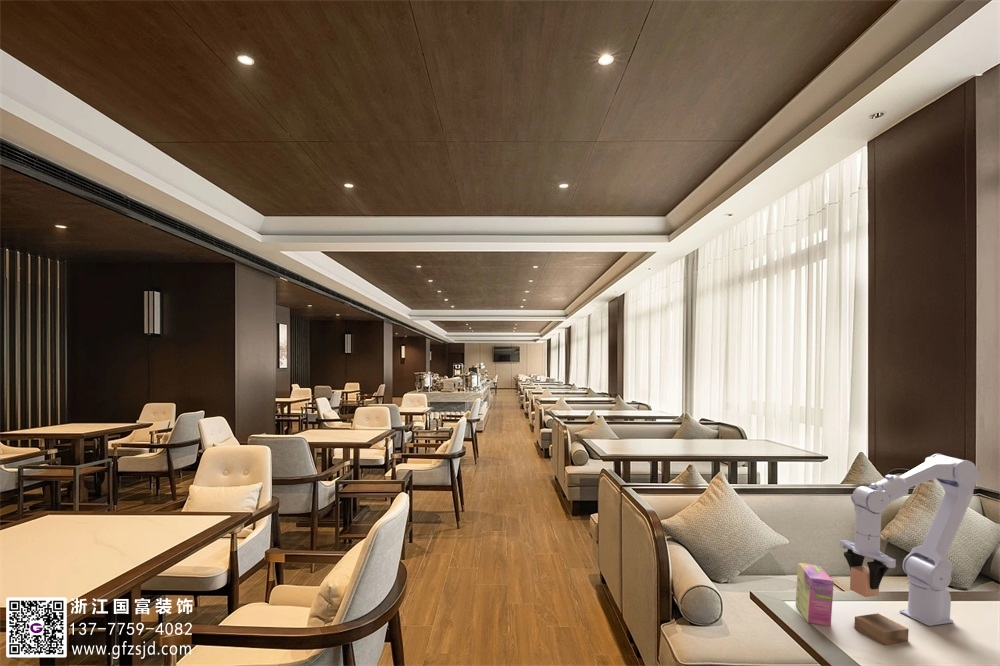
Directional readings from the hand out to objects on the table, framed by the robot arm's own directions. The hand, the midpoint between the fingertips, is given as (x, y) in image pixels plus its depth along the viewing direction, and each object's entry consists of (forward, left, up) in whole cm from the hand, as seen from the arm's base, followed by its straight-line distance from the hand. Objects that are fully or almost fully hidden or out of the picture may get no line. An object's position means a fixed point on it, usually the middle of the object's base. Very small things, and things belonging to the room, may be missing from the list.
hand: (865, 584), depth 152 cm
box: (+13, -4, -9) cm, 16 cm away
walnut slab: (+4, +8, -9) cm, 12 cm away
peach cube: (0, 0, -2) cm, 2 cm away
